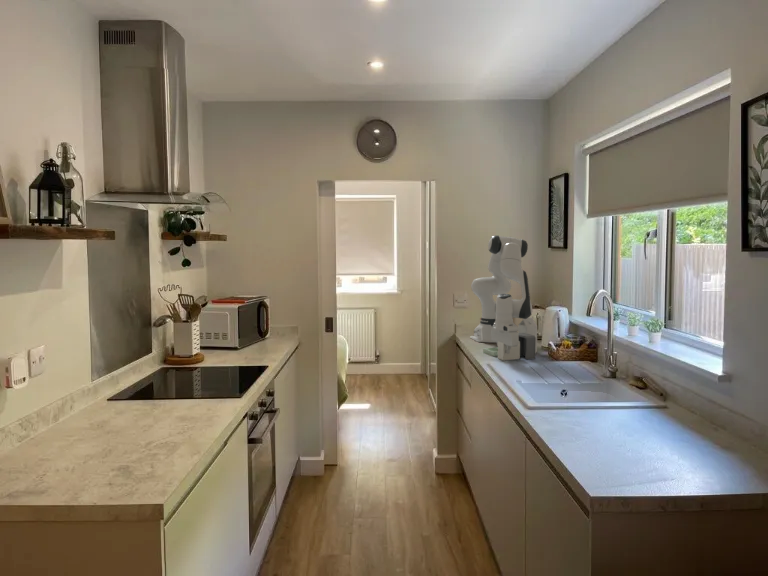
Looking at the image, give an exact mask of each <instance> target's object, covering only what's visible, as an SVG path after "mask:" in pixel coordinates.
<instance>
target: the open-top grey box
mask: <svg viewBox="0 0 768 576" xmlns="http://www.w3.org/2000/svg"><path fill="white" fill-rule="evenodd" d="M518 334H519V341H520V357H521V356H525V360H532V359H534V360H535V359H536V352H535V341H536V337H535V336H534V335H530V334H527V333H518Z"/></svg>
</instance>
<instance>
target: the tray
mask: <svg viewBox="0 0 768 576" xmlns="http://www.w3.org/2000/svg"><path fill="white" fill-rule="evenodd" d="M482 353H483V354H486V355H488V356H491V357H498V346H496V347H484V348H482Z"/></svg>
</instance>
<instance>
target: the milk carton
mask: <svg viewBox="0 0 768 576" xmlns="http://www.w3.org/2000/svg"><path fill="white" fill-rule="evenodd" d="M518 327H519V331H517V332H518V333H527V334H530V335H534V336H535V337H536V341H535V353H537V352H538V325H537V323H536V321H535V320H534V317H532V316H530V317H528V318H527V319H522V320H521V321H520V322H519V324H518Z"/></svg>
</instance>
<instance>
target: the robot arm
mask: <svg viewBox="0 0 768 576" xmlns="http://www.w3.org/2000/svg"><path fill="white" fill-rule="evenodd" d="M528 246H529V245H528V242H527V241H526V240H524V239H522V238H516V237H512V236H504V235H503V236H502V235H492V236H490V238H489V241H488V243H487V247H488V251H489V253H491V255H490V258H489V261H488V264H487V269H488V272H490V274H492V276H486V277H485V276H484V277H483V276H482V277H478V278H474V279H473V280H472V282H471V285H470V288H471V291H472V293H473V294H474V295H475V296H476V297H477V298H478V299H479V302H480V304H481V317H480V318H479V320H480V321H479V324H478V325H477V326H476V327H475V328H474V329H473V335H471V336H469V338H470V339H472V340H473V341H475V342H478V343H496V347H498V342H502V343H504V344H505V345H506V347H507V349H506V350H505V353H507V354H509V353H510V349H511V347H515V346H518V343H519V334H518V331H519V325H517V324H515V323H514V319H513V318H515V319H516V318H517V319H522V320H523V319H527V318H531V317H532V314H533V305H532V300H531V294H530V285H529V278H528V274H527V272H526V271H525V270H523V268H522V258H524V257H526V255H527V252H528V249H529V248H528ZM510 280H512V281H514V282H516V283H517V284H519V285H520V288H521V299H513V295H511V294H509V292H510V291H511V289H512V283H511V281H510ZM494 296H496V300H494Z"/></svg>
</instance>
